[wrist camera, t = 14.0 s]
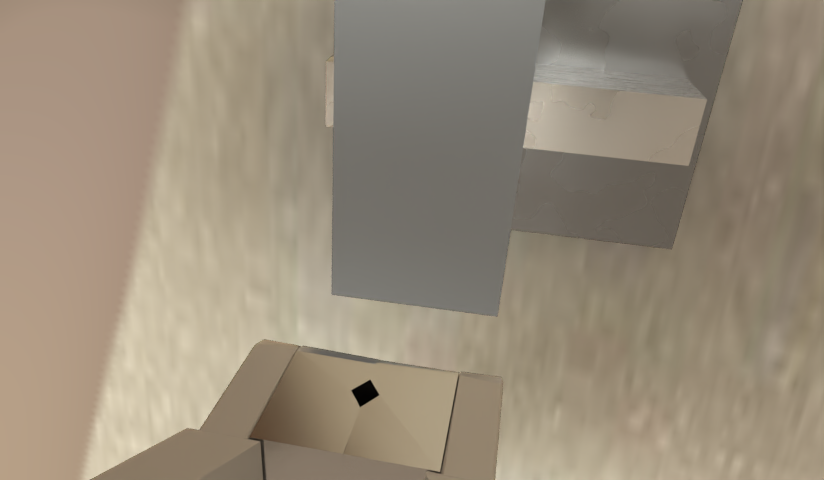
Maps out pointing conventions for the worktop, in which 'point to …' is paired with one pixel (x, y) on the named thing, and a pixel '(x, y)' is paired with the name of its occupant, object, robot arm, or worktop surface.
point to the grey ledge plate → (616, 115)
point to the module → (429, 147)
